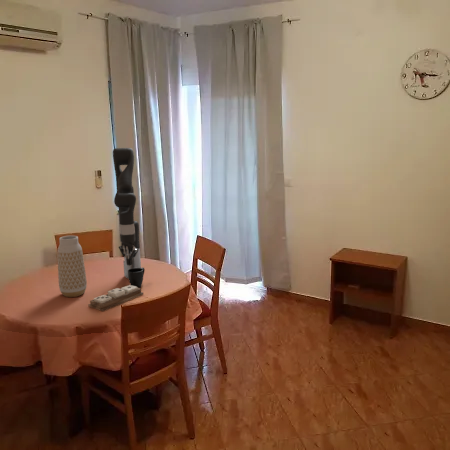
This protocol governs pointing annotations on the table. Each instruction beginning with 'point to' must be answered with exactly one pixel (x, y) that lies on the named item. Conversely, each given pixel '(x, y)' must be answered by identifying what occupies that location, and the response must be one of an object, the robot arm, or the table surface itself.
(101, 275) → the table surface
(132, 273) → the mug
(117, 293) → the tile two
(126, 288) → the tile one
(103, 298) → the tile three
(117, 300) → the board
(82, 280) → the vase
